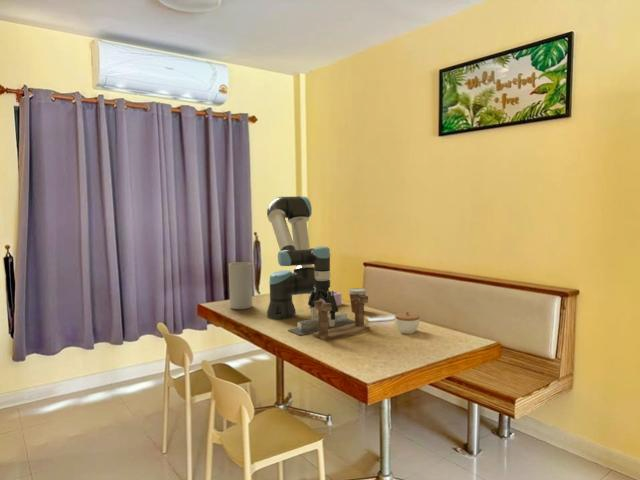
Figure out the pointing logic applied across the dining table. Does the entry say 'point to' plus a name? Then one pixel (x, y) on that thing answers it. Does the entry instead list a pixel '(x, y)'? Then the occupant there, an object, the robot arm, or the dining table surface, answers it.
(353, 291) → the disposable coffee cup
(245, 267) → the cylinder vase
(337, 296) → the lilac boxy piece
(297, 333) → the rubber mat
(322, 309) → the hook rack
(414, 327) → the lidded jar
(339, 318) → the steel rail
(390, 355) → the dining table surface
